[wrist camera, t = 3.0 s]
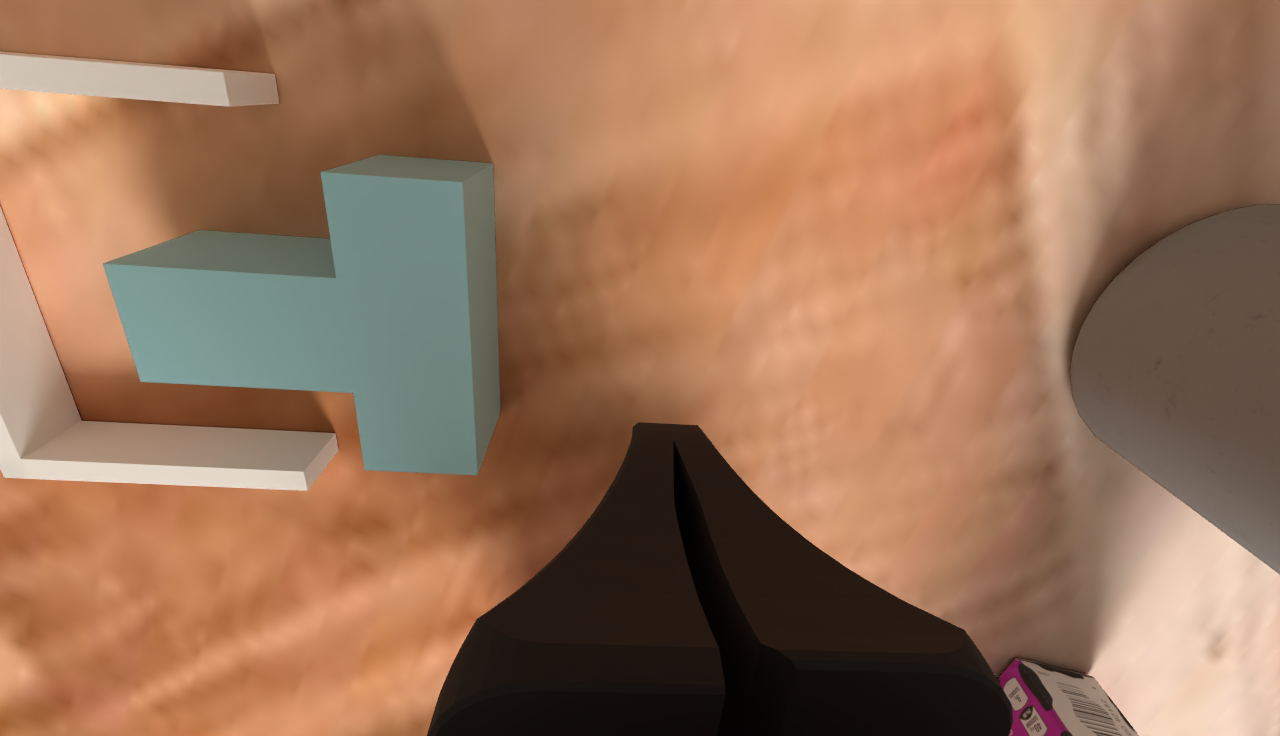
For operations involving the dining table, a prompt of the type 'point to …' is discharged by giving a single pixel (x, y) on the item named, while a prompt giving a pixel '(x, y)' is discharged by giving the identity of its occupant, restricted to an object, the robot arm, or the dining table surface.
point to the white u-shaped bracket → (29, 367)
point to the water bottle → (1195, 371)
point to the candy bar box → (1059, 703)
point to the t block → (343, 309)
